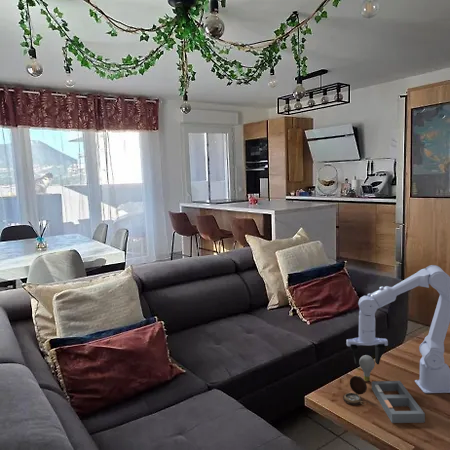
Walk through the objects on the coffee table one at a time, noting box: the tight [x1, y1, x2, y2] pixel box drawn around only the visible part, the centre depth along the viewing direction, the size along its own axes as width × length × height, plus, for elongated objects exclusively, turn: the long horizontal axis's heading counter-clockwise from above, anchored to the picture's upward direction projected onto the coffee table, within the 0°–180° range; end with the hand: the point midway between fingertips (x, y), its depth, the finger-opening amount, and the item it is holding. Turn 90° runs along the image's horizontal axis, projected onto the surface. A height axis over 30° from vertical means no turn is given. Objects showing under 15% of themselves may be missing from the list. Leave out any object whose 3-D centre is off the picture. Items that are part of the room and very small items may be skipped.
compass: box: [342, 375, 368, 406], centre depth 132 cm, size 8×8×7 cm
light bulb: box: [358, 354, 376, 382], centre depth 144 cm, size 5×5×10 cm
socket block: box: [371, 380, 426, 424], centre depth 129 cm, size 10×19×3 cm, turn 177°
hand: (366, 363), depth 143 cm, fingers open, 7 cm apart
